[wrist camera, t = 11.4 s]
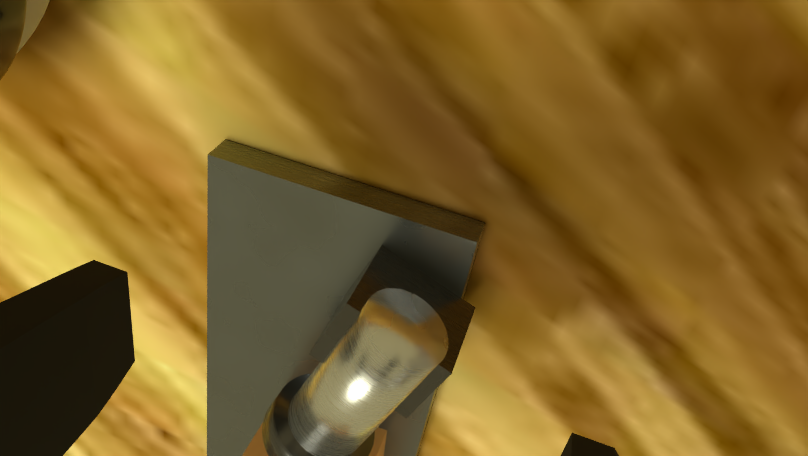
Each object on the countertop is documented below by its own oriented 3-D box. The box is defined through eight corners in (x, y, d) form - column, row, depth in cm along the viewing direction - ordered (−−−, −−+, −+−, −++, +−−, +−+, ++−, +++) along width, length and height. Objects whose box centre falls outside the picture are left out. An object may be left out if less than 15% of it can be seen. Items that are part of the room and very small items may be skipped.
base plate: (485, 222, 20) (477, 242, 19) (371, 614, 33) (364, 635, 33) (225, 139, 21) (207, 154, 20) (217, 549, 35) (206, 568, 34)
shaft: (386, 238, 20) (330, 332, 17) (480, 301, 20) (443, 407, 17) (302, 352, 23) (242, 449, 20) (383, 405, 24) (336, 510, 20)
